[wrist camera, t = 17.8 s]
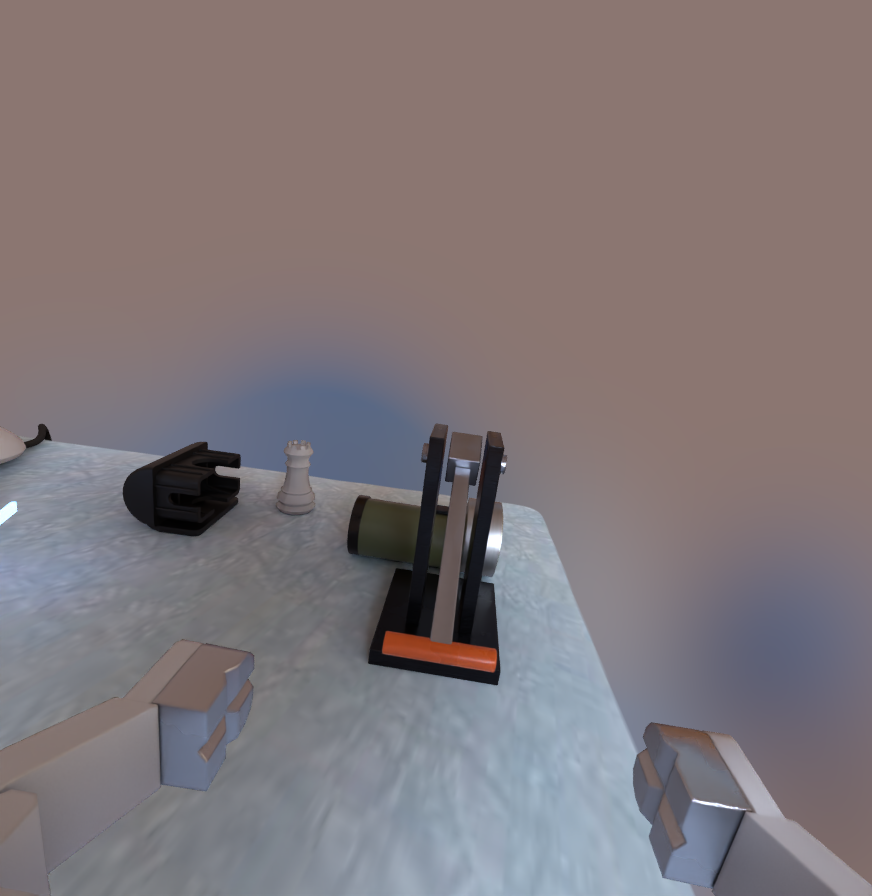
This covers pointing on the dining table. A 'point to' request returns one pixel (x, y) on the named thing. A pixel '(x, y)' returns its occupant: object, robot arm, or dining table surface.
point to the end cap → (183, 490)
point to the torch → (413, 532)
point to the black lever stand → (418, 588)
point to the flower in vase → (10, 446)
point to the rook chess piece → (296, 481)
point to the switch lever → (449, 574)
